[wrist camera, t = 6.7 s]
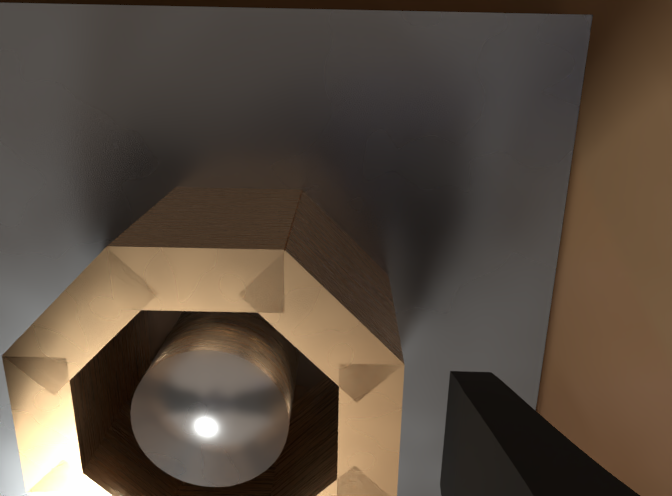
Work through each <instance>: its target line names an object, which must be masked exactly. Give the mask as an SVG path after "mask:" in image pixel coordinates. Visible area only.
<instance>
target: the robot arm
mask: <svg viewBox="0 0 672 496" xmlns="http://www.w3.org/2000/svg"><path fill="white" fill-rule="evenodd" d="M440 489H441V496H640V495H638V494H637V493H636V492H634V491H633V490H632V489H630V488H629V487H628V486H626V485H625V484H624V483H622V482H621V481H620V480H618V479H617V478H616V477H614V476H613V475H612V474H611V473H609V472H608V471H607V470H605V469H604V468H603V467H602V466H600V465H599V464H598V463H597V462H595V461H594V460H593V459H592V458H590V457H589V456H588V455H587V454H585V453H584V452H583V451H582V450H581V449H579V448H578V447H577V446H576V445H575V444H573V443H572V442H571V441H570V440H569V439H567V438H566V437H565V436H564V435H563V434H562V433H560V432H559V431H558V430H557V429H556V428H555V427H553V426H552V425H551V424H550V423H549V422H548V421H547V420H545V419H544V418H543V417H542V416H541V415H540V414H539V413H538V412H536V411H535V410H534V409H533V408H532V407H531V406H530V405H529V404H527V403H526V402H525V401H524V400H523V399H522V398H521V397H520V396H518V395H517V394H516V393H515V392H514V391H513V390H512V389H511V388H510V387H508V386H507V385H506V384H505V383H504V382H503V381H502V380H500V379H499V378H498V377H497V376H496V375H494V374H493V373H492V372H467V371H450V378H449V390H448V401H447V412H446V423H445V434H444V445H443V456H442V467H441V478H440Z"/></svg>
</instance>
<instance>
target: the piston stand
mask: <svg viewBox="0 0 672 496" xmlns="http://www.w3.org/2000/svg"><path fill="white" fill-rule="evenodd" d="M592 16H593V15H578V14H530V13H482V12H433V11H385V10H336V9H288V8H240V7H191V6H143V5H95V4H46V3H0V496H30V495H29V494H28V493H27V492H26V489H25V483H24V477H23V472H22V466H21V461H20V455H19V449H18V444H17V438H16V433H15V427H14V422H13V416H12V410H11V405H10V399H9V394H8V388H7V383H6V377H5V371H4V366H3V360H2V355H3V354H4V353H5V352H6V351H7V350H8V349H9V348H10V347H11V345H12V344H13V343H14V342H15V341H16V340H17V339H18V338H19V337H20V336H21V335H22V334H23V333H24V332H25V331H26V330H27V329H28V328H29V327H30V326H31V325H32V324H33V323H34V322H35V320H36V319H37V318H38V317H39V316H40V315H41V314H42V313H43V312H44V311H45V310H46V309H47V308H48V307H49V306H50V305H51V304H52V303H53V302H54V301H55V300H56V299H57V298H58V297H59V295H60V294H61V293H62V292H63V291H64V290H65V289H66V288H67V287H68V286H69V285H70V284H71V283H72V282H73V281H74V280H75V279H76V278H77V277H78V276H79V275H80V274H81V273H82V272H83V270H84V269H85V268H86V267H87V266H88V265H89V264H90V263H91V262H92V261H93V260H94V259H95V258H96V257H97V256H98V255H99V254H100V253H101V252H102V251H103V250H104V249H105V248H106V247H107V246H108V245H109V244H110V243H111V242H112V241H114V240H115V239H116V238H117V237H118V236H119V235H121V234H122V233H123V232H124V231H125V230H126V229H128V228H129V227H130V226H131V225H132V224H133V223H135V222H136V221H137V220H138V219H139V218H140V217H142V216H143V215H144V214H145V213H146V212H147V211H149V210H150V209H151V208H152V207H153V206H154V205H156V204H157V203H158V202H159V201H160V200H161V199H163V198H164V197H165V196H166V195H167V194H168V193H169V192H171V191H172V190H173V189H174V188H176V187H193V188H247V189H300V190H303V191H304V192H305V193H306V194H307V195H308V196H309V197H310V198H311V199H312V200H313V201H315V202H316V203H317V204H318V205H319V206H320V207H321V208H322V209H323V210H324V211H325V212H326V213H327V214H328V215H329V216H330V217H331V218H332V219H333V220H334V221H335V222H336V223H337V224H338V225H339V226H340V227H341V228H342V229H343V230H344V231H345V232H346V233H347V234H348V235H349V236H350V237H351V238H352V239H353V240H354V241H355V242H356V243H357V244H358V245H359V246H360V247H361V248H362V249H363V250H364V251H365V252H366V253H367V254H368V255H369V256H370V257H371V258H372V259H373V260H374V261H375V262H376V263H377V264H378V265H379V266H380V267H381V268H382V269H383V270H384V271H385V272H386V273H387V274H388V276H389V281H390V287H391V292H392V298H393V303H394V309H395V315H396V320H397V326H398V331H399V337H400V343H401V348H402V354H403V359H404V365H405V366H404V383H403V400H402V417H401V435H400V452H399V469H398V487H397V496H441V489H440V478H441V467H442V456H443V445H444V434H445V423H446V412H447V401H448V390H449V378H450V371H467V372H492V373H493V374H494V375H496V376H497V377H498V378H499V379H500V380H502V381H503V382H504V383H505V384H506V385H507V386H508V387H510V388H511V389H512V390H513V391H514V392H515V393H516V394H517V395H518V396H520V397H521V398H522V399H523V400H524V401H525V402H526V403H527V404H529V405H530V406H531V407H532V408H533V409H534V410H535V411H536V404H537V397H538V390H539V383H540V376H541V370H542V363H543V356H544V349H545V342H546V335H547V328H548V321H549V314H550V307H551V300H552V293H553V286H554V280H555V273H556V266H557V259H558V252H559V245H560V238H561V231H562V224H563V217H564V210H565V203H566V196H567V189H568V183H569V176H570V169H571V162H572V155H573V148H574V141H575V134H576V127H577V120H578V113H579V106H580V99H581V93H582V86H583V79H584V72H585V65H586V58H587V51H588V44H589V37H590V30H591V23H592ZM147 319H148V330H149V341H150V352H151V361H152V363H151V365H150V366H149V368H148V370H147V371H146V373H145V375H144V376H143V378H142V380H141V381H140V383H139V385H138V386H137V389H136V391H135V393H134V396H133V399H132V403H131V410H130V414H131V425H132V430H133V433H134V436H135V438H136V440H137V442H138V444H139V446H140V448H141V449H142V451H143V452H144V453H145V455H146V456H147V457H148V458H149V459H150V460H151V461H152V462H153V463H154V464H155V465H156V466H157V467H158V468H160V469H161V470H163V471H164V472H166V473H167V474H169V475H171V476H173V477H174V478H177V479H179V480H181V481H184V482H187V483H190V484H194V485H199V486H206V487H225V486H232V485H236V484H240V483H243V482H246V481H249V480H251V479H253V478H255V477H257V476H259V475H260V474H262V473H263V472H264V471H266V470H267V469H268V468H269V467H270V466H271V465H272V464H273V463H274V462H275V461H276V459H277V458H278V457H279V455H280V454H281V452H282V450H283V448H284V445H285V443H286V440H287V435H288V430H289V423H290V417H291V410H292V405H293V404H294V403H295V402H296V401H297V400H299V399H300V398H301V397H302V396H303V395H305V394H306V393H307V392H308V391H309V390H310V389H312V388H313V387H314V386H315V385H316V384H318V383H319V382H320V381H321V380H322V379H323V378H325V377H326V376H327V375H326V374H325V373H324V372H322V371H321V370H320V369H319V368H318V367H317V366H316V365H315V364H314V363H313V362H311V361H310V360H309V359H308V358H307V357H306V356H305V355H304V354H303V353H302V352H301V351H299V350H298V349H297V348H296V347H295V346H294V345H293V344H292V343H291V342H290V341H288V340H287V339H286V338H285V337H284V336H283V335H282V334H281V333H280V332H279V331H277V330H276V329H275V328H274V327H273V326H272V325H271V324H270V323H269V322H268V321H267V320H265V319H264V318H263V317H262V316H261V315H260V314H259V313H257V312H209V311H161V310H147Z"/></svg>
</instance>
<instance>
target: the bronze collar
mask: <svg viewBox="0 0 672 496" xmlns="http://www.w3.org/2000/svg"><path fill="white" fill-rule="evenodd" d="M147 310H161V311H209V312H257V313H259V314H260V315H261V316H262V317H263V318H264V319H265V320H267V321H268V322H269V323H270V324H271V325H272V326H273V327H274V328H275V329H276V330H277V331H279V332H280V333H281V334H282V335H283V336H284V337H285V338H286V339H287V340H288V341H290V342H291V343H292V344H293V345H294V346H295V347H296V348H297V349H298V350H299V351H301V352H302V353H303V354H304V355H305V356H306V357H307V358H308V359H309V360H310V361H311V362H313V363H314V364H315V365H316V366H317V367H318V368H319V369H320V370H321V371H322V372H324V373H325V374H326V375H327V376H326V377H325V378H323V379H322V380H321V381H320V382H319V383H318V384H316V385H315V386H314V387H313V388H312V389H310V390H309V391H308V392H307V393H306V394H305V395H303V396H302V397H301V398H300V399H299V400H297V401H296V402H295V403H294V404H293V405H292V410H291V417H290V423H289V430H288V435H287V440H286V443H285V445H284V448H283V450H282V452H281V454H280V455H279V457H278V458H277V459H276V461H275V462H274V463H273V464H272V465H271V466H270V467H269V468H268V469H267V470H266V471H264V472H263V473H262V474H260V475H259V476H257V477H255V478H253V479H251V480H249V481H246V482H243V483H240V484H236V485H232V486H225V487H206V486H199V485H194V484H190V483H187V482H184V481H181V480H179V479H177V478H174V477H173V476H171V475H169V474H167V473H166V472H164V471H163V470H161V469H160V468H158V467H157V466H156V465H155V464H154V463H153V462H152V461H151V460H150V459H149V458H148V457H147V456H146V455H145V453H144V452H143V451H142V449H141V448H140V446H139V444H138V442H137V440H136V438H135V436H134V433H133V430H132V425H131V414H130V410H131V403H132V399H133V396H134V393H135V391H136V389H137V386H138V385H139V383H140V381H141V380H142V378H143V376H144V375H145V373H146V371H147V370H148V368H149V366H150V365H151V363H152V361H151V352H150V341H149V330H148V319H147ZM2 360H3V366H4V371H5V377H6V383H7V388H8V394H9V399H10V405H11V410H12V416H13V422H14V427H15V433H16V438H17V444H18V449H19V455H20V461H21V466H22V472H23V477H24V483H25V489H26V492H27V493H28V494H29V495H30V496H397V487H398V469H399V452H400V435H401V417H402V400H403V383H404V366H405V365H404V359H403V354H402V348H401V343H400V337H399V331H398V326H397V320H396V315H395V309H394V303H393V298H392V292H391V287H390V281H389V276H388V274H387V273H386V272H385V271H384V270H383V269H382V268H381V267H380V266H379V265H378V264H377V263H376V262H375V261H374V260H373V259H372V258H371V257H370V256H369V255H368V254H367V253H366V252H365V251H364V250H363V249H362V248H361V247H360V246H359V245H358V244H357V243H356V242H355V241H354V240H353V239H352V238H351V237H350V236H349V235H348V234H347V233H346V232H345V231H344V230H343V229H342V228H341V227H340V226H339V225H338V224H337V223H336V222H335V221H334V220H333V219H332V218H331V217H330V216H329V215H328V214H327V213H326V212H325V211H324V210H323V209H322V208H321V207H320V206H319V205H318V204H317V203H316V202H315V201H313V200H312V199H311V198H310V197H309V196H308V195H307V194H306V193H305V192H304V191H303V190H300V189H247V188H193V187H176V188H174V189H173V190H172V191H171V192H169V193H168V194H167V195H166V196H165V197H164V198H163V199H161V200H160V201H159V202H158V203H157V204H156V205H154V206H153V207H152V208H151V209H150V210H149V211H147V212H146V213H145V214H144V215H143V216H142V217H140V218H139V219H138V220H137V221H136V222H135V223H133V224H132V225H131V226H130V227H129V228H128V229H126V230H125V231H124V232H123V233H122V234H121V235H119V236H118V237H117V238H116V239H115V240H114V241H112V242H111V243H110V244H109V245H108V246H107V247H106V248H105V249H104V250H103V251H102V252H101V253H100V254H99V255H98V256H97V257H96V258H95V259H94V260H93V261H92V262H91V263H90V264H89V265H88V266H87V267H86V268H85V269H84V270H83V272H82V273H81V274H80V275H79V276H78V277H77V278H76V279H75V280H74V281H73V282H72V283H71V284H70V285H69V286H68V287H67V288H66V289H65V290H64V291H63V292H62V293H61V294H60V295H59V297H58V298H57V299H56V300H55V301H54V302H53V303H52V304H51V305H50V306H49V307H48V308H47V309H46V310H45V311H44V312H43V313H42V314H41V315H40V316H39V317H38V318H37V319H36V320H35V322H34V323H33V324H32V325H31V326H30V327H29V328H28V329H27V330H26V331H25V332H24V333H23V334H22V335H21V336H20V337H19V338H18V339H17V340H16V341H15V342H14V343H13V344H12V345H11V347H10V348H9V349H8V350H7V351H6V352H5V353H4V354H3V355H2Z"/></svg>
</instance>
